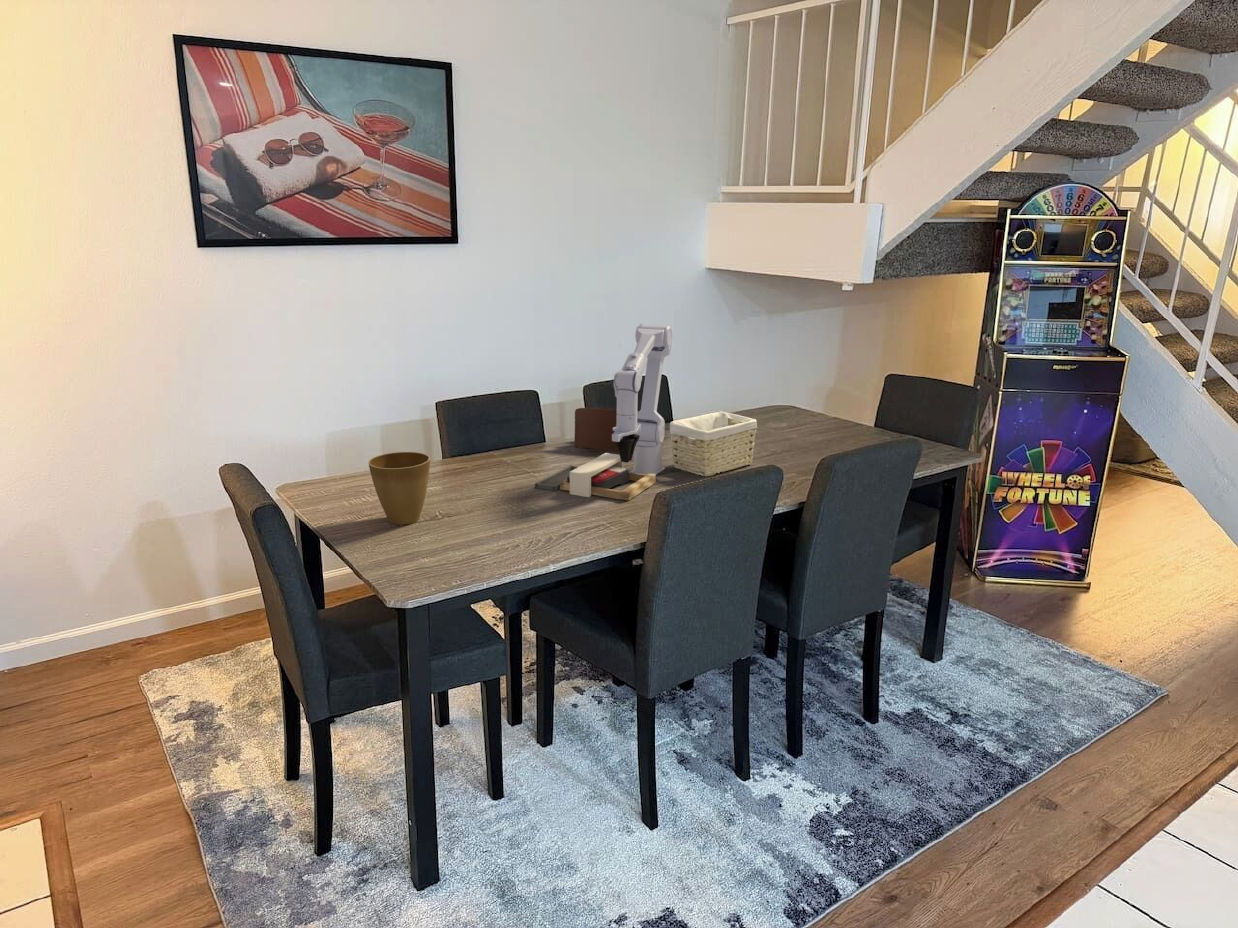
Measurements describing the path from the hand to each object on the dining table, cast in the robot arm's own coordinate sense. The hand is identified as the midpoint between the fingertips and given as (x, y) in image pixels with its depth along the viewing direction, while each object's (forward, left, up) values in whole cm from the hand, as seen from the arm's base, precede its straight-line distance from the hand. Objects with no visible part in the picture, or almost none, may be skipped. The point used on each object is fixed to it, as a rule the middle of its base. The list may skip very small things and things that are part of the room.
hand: (626, 461), depth 245 cm
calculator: (0, -9, -8) cm, 12 cm away
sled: (0, -5, -8) cm, 10 cm away
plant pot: (+49, -39, -9) cm, 63 cm away
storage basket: (-34, +13, -9) cm, 37 cm away
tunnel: (0, -15, -8) cm, 17 cm away
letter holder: (-40, -26, -9) cm, 48 cm away
